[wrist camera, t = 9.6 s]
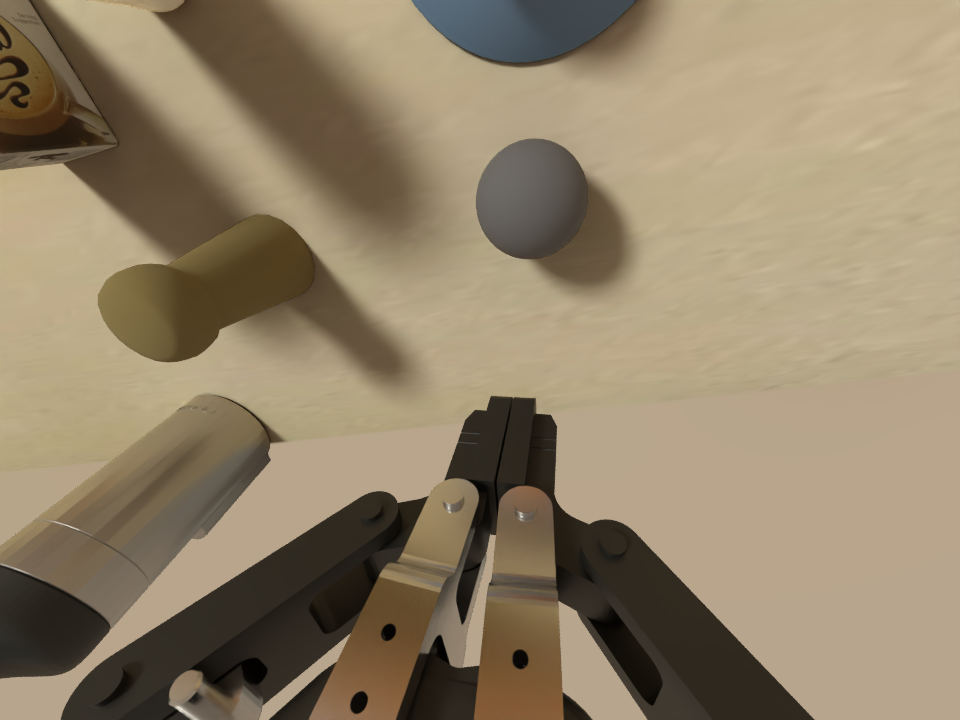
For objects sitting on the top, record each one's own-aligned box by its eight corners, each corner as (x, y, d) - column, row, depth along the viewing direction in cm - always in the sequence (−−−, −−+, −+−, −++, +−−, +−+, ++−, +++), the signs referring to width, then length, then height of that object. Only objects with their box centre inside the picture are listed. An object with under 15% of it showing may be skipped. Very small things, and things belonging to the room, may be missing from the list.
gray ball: (584, 232, 16) (594, 104, 16) (456, 234, 17) (468, 115, 17) (582, 273, 21) (590, 177, 21) (485, 272, 22) (494, 181, 23)
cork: (328, 260, 27) (204, 337, 18) (293, 310, 30) (172, 397, 21) (255, 194, 25) (78, 243, 16) (225, 254, 28) (63, 323, 19)
